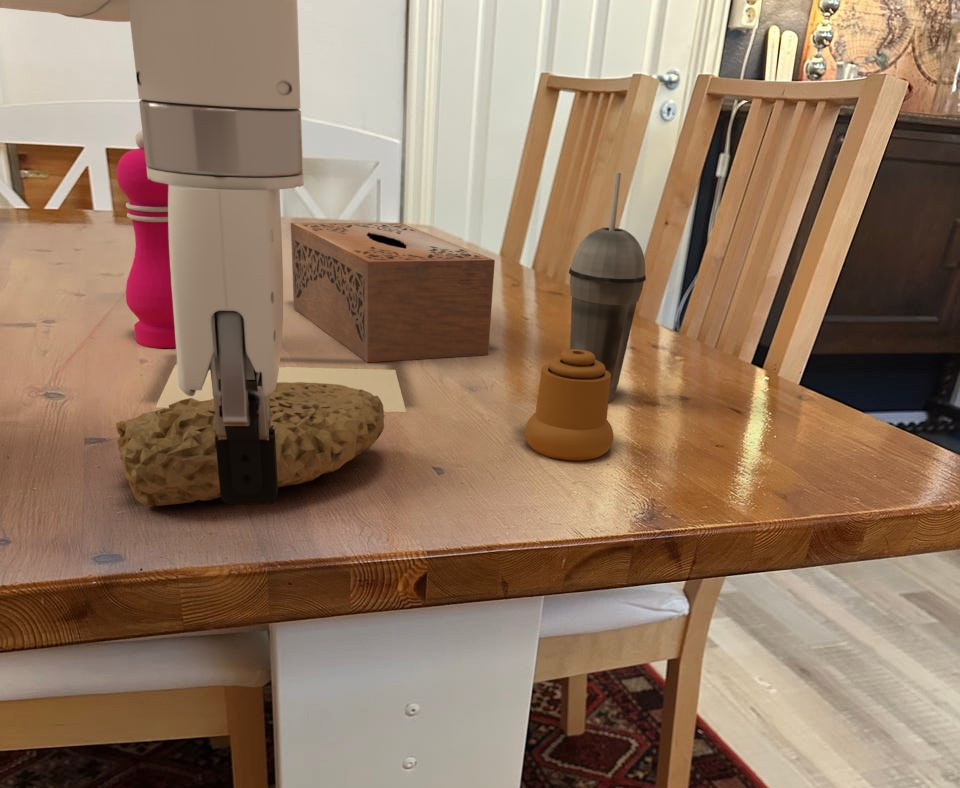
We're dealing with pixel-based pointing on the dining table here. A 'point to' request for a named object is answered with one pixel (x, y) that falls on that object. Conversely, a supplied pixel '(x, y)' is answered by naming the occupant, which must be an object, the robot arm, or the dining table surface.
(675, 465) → the dining table surface
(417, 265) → the tissue box cover
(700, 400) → the dining table surface
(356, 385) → the board
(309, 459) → the sponge
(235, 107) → the robot arm
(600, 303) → the beverage cup
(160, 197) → the pepper mill
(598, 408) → the ornamental finial
